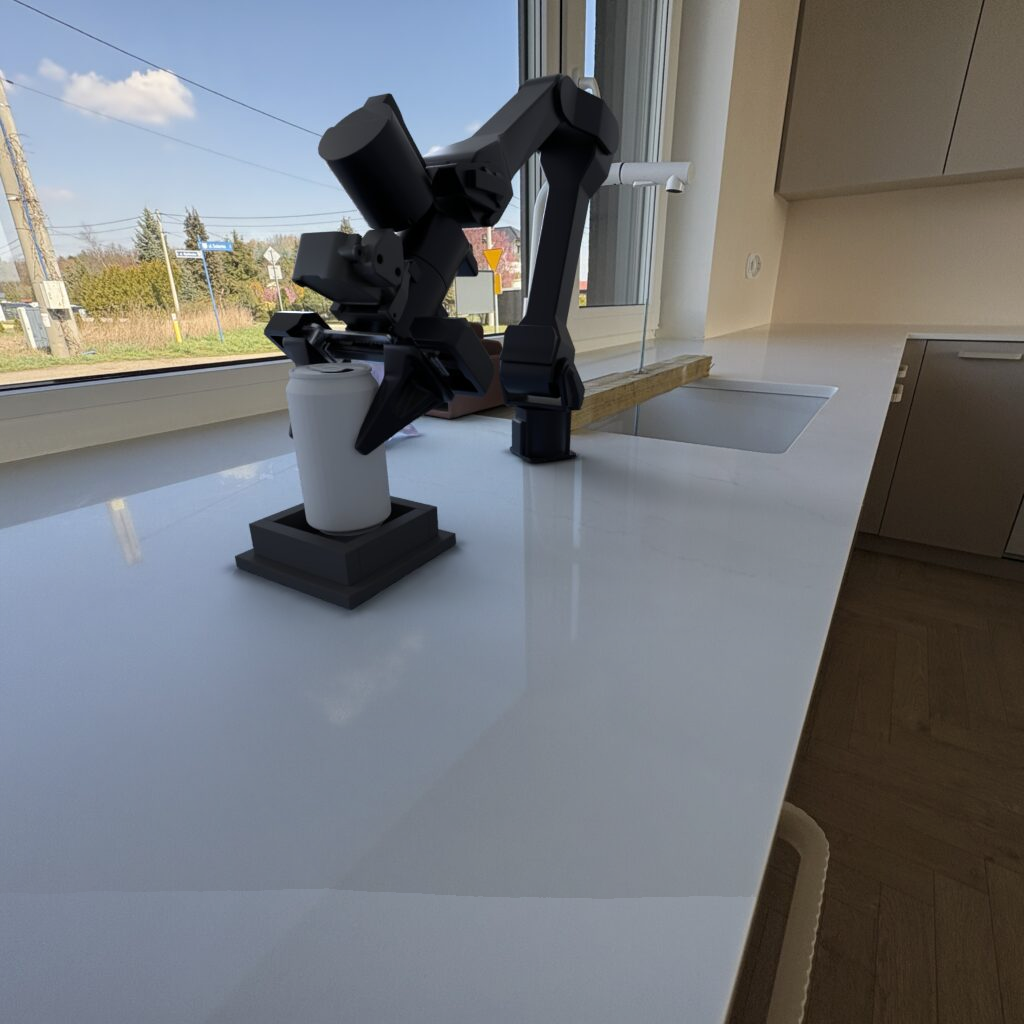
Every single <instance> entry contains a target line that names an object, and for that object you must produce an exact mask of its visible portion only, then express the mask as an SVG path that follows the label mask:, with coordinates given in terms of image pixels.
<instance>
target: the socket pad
mask: <svg viewBox="0 0 1024 1024" xmlns="http://www.w3.org/2000/svg"><path fill="white" fill-rule="evenodd" d="M390 502H391V513H390V515H389V517H388V518H387V519H385V520H384V521H383V523H382V524H381V525H380V526H379V527H378V528H376V529H374V530H372V531H370V532H367V533H363V534H359V535H352V536H334V535H328V534H325V533H323V532H321V531H320V530H318V529H316V528H314V527H312V526H310V525H309V524H308V522H307V519H306V513H305V507H304V502H301V503H299V504H296V505H293V506H291V507H288V508H286V509H284V510H283V509H282V510H281V511H278V512H275V513H273V514H270V515H267V516H266V517H265V516H264V517H262V518H260V519H257V520H255V521H252V522H249V523H248V527H249V532H250V538H251V543H252V548H251V549H248V550H245V551H243V552H241V553H238V554H235V555H234V559H235V560H234V561H235V565H236V568H238V569H241V570H244V571H246V572H248V573H251V574H254V575H256V576H260V577H262V578H265V579H267V580H269V581H273V582H275V583H278V584H281V585H283V586H285V587H289V588H291V589H294V590H297V591H299V592H302V593H304V594H307V595H310V596H313V597H315V598H318V599H321V600H323V601H326V602H328V603H331V604H334V605H337V606H340V607H342V608H345V609H346V610H347V609H348V610H353V609H354V608H356V607H358V606H359V605H361V604H362V603H364V602H366V601H368V600H369V599H370V598H372V597H373V596H375V595H377V594H378V593H380V592H381V591H383V590H384V589H386V588H388V587H389V586H391V585H392V584H394V583H396V582H397V581H399V580H400V579H402V578H404V577H406V576H407V575H408V574H410V573H412V572H413V571H415V570H416V569H418V568H419V567H421V566H423V565H424V564H426V563H427V562H429V561H431V560H433V559H435V558H436V557H437V556H439V555H440V554H442V553H444V552H445V551H447V550H448V549H451V547H453V546H455V545H456V544H457V535H456V534H457V533H456V532H452V531H448V530H446V529H445V530H444V529H441V528H439V516H438V515H439V514H438V506H436V505H432V504H427V503H423V502H418V501H415V500H411V499H406V498H403V497H398V496H393V495H390Z"/></svg>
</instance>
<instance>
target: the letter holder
mask: <svg viewBox="0 0 1024 1024" xmlns="http://www.w3.org/2000/svg"><path fill="white" fill-rule="evenodd" d="M468 322H469V323H470V325H471V327H472V328H473V330H474V331H475V333H476V335H477V336H478V338H479V340H480V341H481V343H482V345H483V346H484V348H485V349H486V351H487V353H488V354H489V356H490V358H491V359H492V361H493V363H494V377H493V380H492V382H491V384H490V386H489V389H488V391H487V393H486V395H485V396H484V397H483V398H482V397H473V396H464V395H456V394H454V395H455V397H454V399H453V401H452V402H450V403H449V402H444V403H441V404H440V405H438V406H437V407H435V408H433V409H432V410H430V411H429V412H427V413H426V414H424V415H425V416H430V417H435V418H442V419H447V420H451V419H455V418H456V419H457V418H459V417H463V416H467V415H472V414H474V413H478V412H483V411H485V410H490V409H493V408H496V407H500V406H501V407H502V406H506V405H505V403H504V398H503V393H502V388H501V384H500V379H499V373H498V369H499V363H500V360H499V356H500V354H501V351H502V347H503V343H502V342H501V341H499V340H496V339H489V338H485V329H484V326H483V324H482V323H480V322H475V321H468ZM424 415H423V416H424Z"/></svg>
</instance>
